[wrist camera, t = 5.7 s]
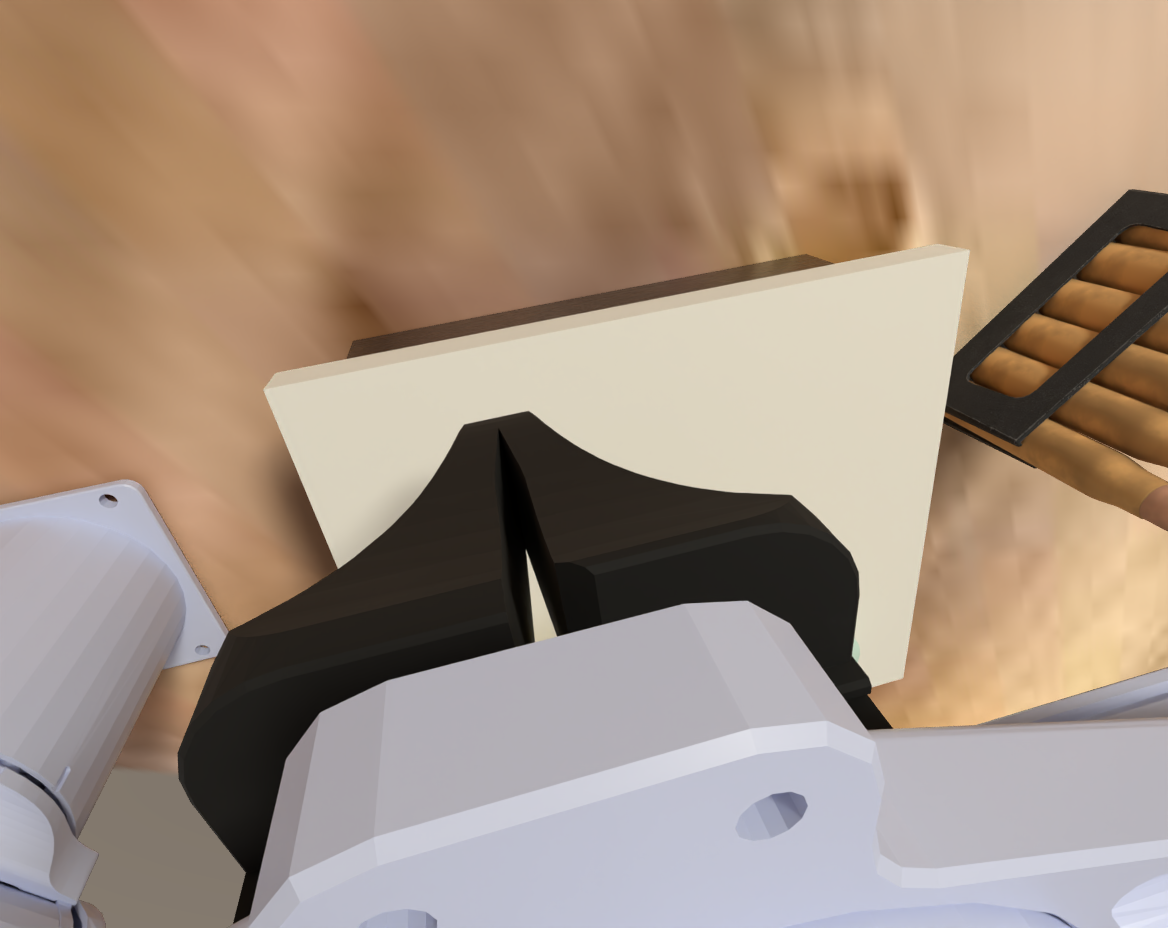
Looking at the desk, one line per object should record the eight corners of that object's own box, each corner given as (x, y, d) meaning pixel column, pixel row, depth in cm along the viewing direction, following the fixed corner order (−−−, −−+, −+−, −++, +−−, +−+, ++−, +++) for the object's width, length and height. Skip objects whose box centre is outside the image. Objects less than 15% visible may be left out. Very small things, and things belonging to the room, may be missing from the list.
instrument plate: (439, 781, 23) (439, 938, 18) (275, 372, 15) (204, 468, 10) (883, 655, 25) (983, 768, 20) (937, 243, 17) (1117, 276, 13)
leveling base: (454, 644, 27) (459, 739, 23) (353, 341, 20) (332, 397, 16) (791, 558, 29) (851, 631, 25) (806, 254, 22) (895, 284, 18)
